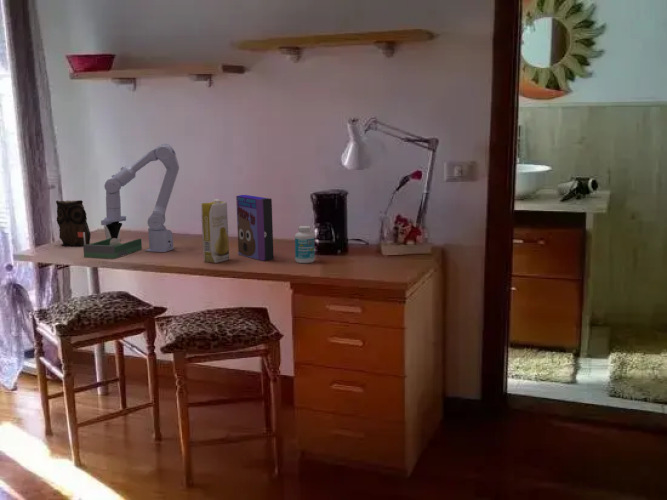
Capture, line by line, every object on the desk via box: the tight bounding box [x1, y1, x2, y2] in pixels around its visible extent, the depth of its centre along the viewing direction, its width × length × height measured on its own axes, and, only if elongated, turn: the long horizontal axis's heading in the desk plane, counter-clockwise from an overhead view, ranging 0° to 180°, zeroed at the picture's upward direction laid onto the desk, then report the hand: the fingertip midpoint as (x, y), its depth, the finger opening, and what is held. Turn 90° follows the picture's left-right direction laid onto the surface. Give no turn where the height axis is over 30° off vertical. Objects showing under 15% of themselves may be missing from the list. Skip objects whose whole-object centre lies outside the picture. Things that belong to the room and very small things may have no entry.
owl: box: [55, 199, 92, 248], centre depth 329 cm, size 13×13×20 cm
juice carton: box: [200, 198, 230, 264], centre depth 291 cm, size 9×8×24 cm
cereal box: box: [235, 194, 274, 262], centre depth 296 cm, size 17×5×24 cm, turn 40°
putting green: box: [78, 232, 143, 260], centre depth 311 cm, size 16×20×10 cm
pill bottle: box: [294, 225, 316, 264], centre depth 287 cm, size 8×7×14 cm
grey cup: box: [103, 225, 121, 241], centre depth 339 cm, size 7×7×7 cm
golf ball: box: [110, 238, 121, 246], centre depth 313 cm, size 4×4×4 cm
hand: (114, 240), depth 313 cm, fingers closed, pressing on golf ball
